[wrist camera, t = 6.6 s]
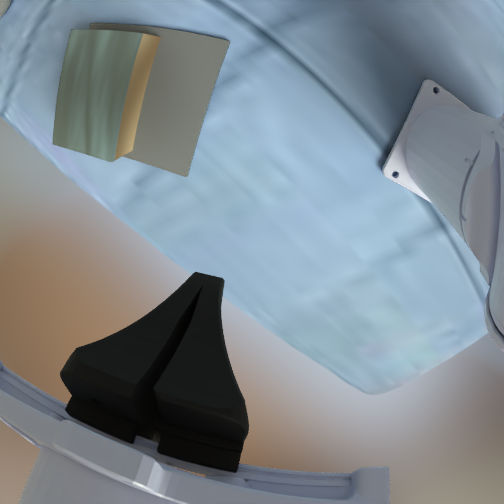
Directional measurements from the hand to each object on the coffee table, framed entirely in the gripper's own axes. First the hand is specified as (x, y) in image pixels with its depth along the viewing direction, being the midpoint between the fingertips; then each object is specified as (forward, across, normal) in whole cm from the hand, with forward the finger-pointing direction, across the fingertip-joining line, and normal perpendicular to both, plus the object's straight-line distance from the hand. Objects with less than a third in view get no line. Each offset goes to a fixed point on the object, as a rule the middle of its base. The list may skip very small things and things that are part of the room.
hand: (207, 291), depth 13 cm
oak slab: (+8, +8, -7) cm, 14 cm away
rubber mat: (+10, +9, -7) cm, 16 cm away
